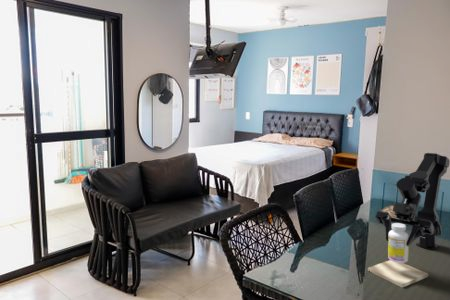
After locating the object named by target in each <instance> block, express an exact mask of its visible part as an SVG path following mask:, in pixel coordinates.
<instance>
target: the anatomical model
mask: <svg viewBox="0 0 450 300" xmlns="http://www.w3.org/2000/svg"><path fill="white" fill-rule="evenodd" d="M393 205H394V204H391V205H388V206H385V207H384V208H383V209H381V210H380V211H384V212H388V213H389V215H390V216H391V217H397V216H396V215H395V214H394V213H395V212H393ZM393 223H394V222H392V224H393Z"/></svg>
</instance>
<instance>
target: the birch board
mask: <svg viewBox="0 0 450 300" xmlns="http://www.w3.org/2000/svg"><path fill="white" fill-rule="evenodd" d="M369 271H370V273H371V272H372V273H371V274H373V275H376V276H377V277H379V278H382V279H383V280H385V281H388V282H390V283H391V284H393V285H396V286H398V287H400V288H402V289H403V288H406V287H407V286H409V285H412V284H415V283H417V282H419V281H422V280H424V279H426V278H428V277H429V273H428V272H425V271H423V270H420V269H418V268H416V267H413V266H410V265H408V264H406V263H397V262H394V261H391V260H390V259H389V260H386V261H383V262H381V263H377V264H375V265H374V264H373V265H372V266H369V267H367V272H369Z"/></svg>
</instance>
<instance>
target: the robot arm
mask: <svg viewBox="0 0 450 300" xmlns="http://www.w3.org/2000/svg"><path fill="white" fill-rule="evenodd" d="M449 167H450V159H449V158H448V157H447V155H446V156H445V155H441V154H438V153H437V152H436V153H435V152H433V153H432V152H426V153H424V154H423V158H422V161H421V162H420V164H419V165H418V167H417V169H416V170H415V171H412V172H411V173H409V175H404V177H403V178H400V179H398V181H397V182H396V188H397V190H398V192H399V194H400V196H401V198H402V199H401V202H399V203H398V202H393V204H392V205H393V212H395V213H394V214H395V215H396V216H397V217H391V216H390V215H389V213H388V212H384V211H381V210H377V212H376V213H375V218H376V220H377V222H378V223H379V224H381V225H383V226H384V227H385V240H386V241H387V242H388V234H389V232H390V231H391V230H392V228H391V227H392V224H393V223H392V222H394V223H401V224H405V225H406V226H409V227H412V228H411V232H410V234H409V239H408V241H407V246H409V247H410V245H412V243H414V242H415V241H416V240H417V239H418V238H419V241H418V242H417V243H416V244H415V245H416V246H417V247H421V248H424V249H427V250H430V251H431V250H435V249H437V248H439V247H440V245H439V244H437V243H436V242H437V236H441V235H442V225H441V223H440V217H439V215H438V213H437V210H436V209H437V205H438V199H439V191H440V186H441V180H442V177H443V176H444V175H445V174H446V173H447V170H448V168H449ZM420 193H425V196H424V201H423V207H422V209H420V210H419V205H420V203H421V202H422V195H421V194H420ZM418 210H419V211H418Z"/></svg>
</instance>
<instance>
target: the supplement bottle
mask: <svg viewBox="0 0 450 300" xmlns="http://www.w3.org/2000/svg"><path fill="white" fill-rule="evenodd" d="M391 228H392V230H391V231H390V232H389V234H388V241H387V244H388V245H387V257H388V259H389V260H391V261H394V262H397V263H404V264H406V263H408V261H409V258H410V254H409V253H410V251H409V250H410V245H409V246H407V241H408V239H409V236H410V234H409V232H407V231H406V230H407V225H405V224H401V223H392V227H391Z"/></svg>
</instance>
